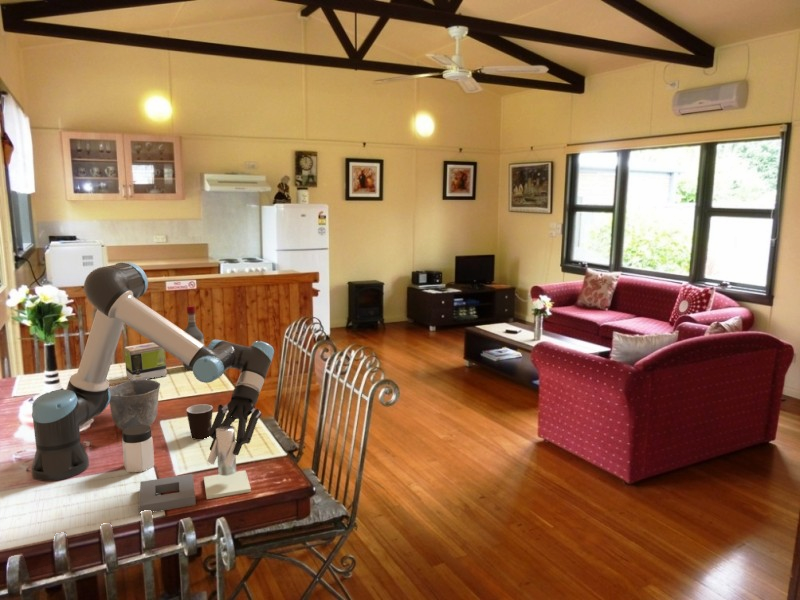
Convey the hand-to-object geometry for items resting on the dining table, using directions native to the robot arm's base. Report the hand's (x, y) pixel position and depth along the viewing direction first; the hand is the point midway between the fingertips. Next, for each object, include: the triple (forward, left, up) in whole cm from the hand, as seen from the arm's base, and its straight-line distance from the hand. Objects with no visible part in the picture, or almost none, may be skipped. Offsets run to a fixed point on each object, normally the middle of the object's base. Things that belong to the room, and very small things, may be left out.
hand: (219, 463), depth 166 cm
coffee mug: (-2, +44, -9) cm, 45 cm away
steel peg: (+2, +3, -4) cm, 6 cm away
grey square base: (-14, +2, -8) cm, 16 cm away
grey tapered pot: (-24, +59, -9) cm, 64 cm away
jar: (-22, +25, -9) cm, 34 cm away
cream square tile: (+2, +3, -8) cm, 9 cm away
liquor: (-1, +129, -9) cm, 129 cm away
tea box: (-22, +121, -9) cm, 123 cm away
